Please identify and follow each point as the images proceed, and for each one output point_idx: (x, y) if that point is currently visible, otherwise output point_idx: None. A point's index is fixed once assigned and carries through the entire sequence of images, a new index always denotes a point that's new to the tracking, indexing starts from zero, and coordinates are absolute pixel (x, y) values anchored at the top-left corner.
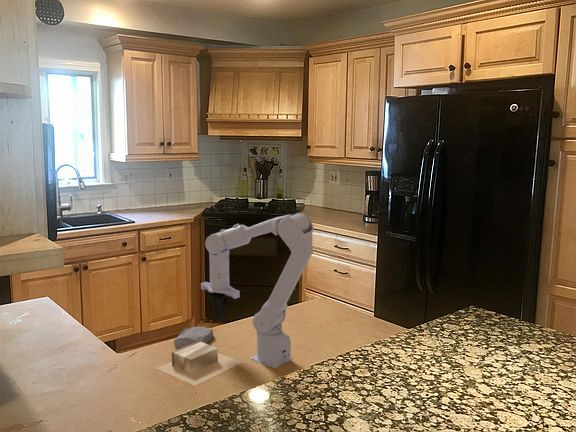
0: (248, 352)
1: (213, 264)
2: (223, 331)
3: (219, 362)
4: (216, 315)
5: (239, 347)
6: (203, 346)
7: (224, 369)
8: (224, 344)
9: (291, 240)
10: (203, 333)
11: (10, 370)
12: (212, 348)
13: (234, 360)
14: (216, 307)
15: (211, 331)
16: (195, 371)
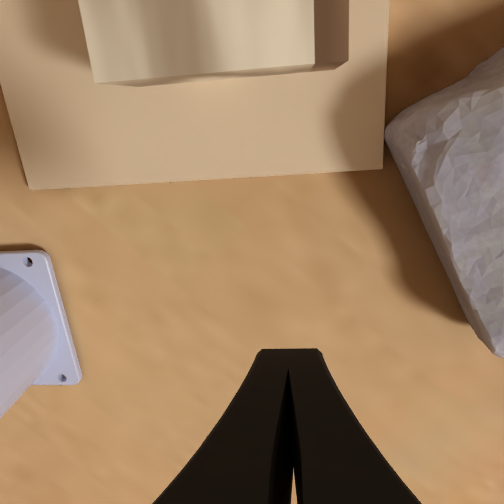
0: (140, 309)
1: None
2: (478, 414)
3: None
4: (308, 356)
5: (228, 322)
6: (207, 5)
7: (4, 31)
8: (329, 297)
9: None
10: (489, 250)
11: None
12: (112, 39)
13: (81, 173)
14: (300, 459)
15: (480, 328)
16: None
